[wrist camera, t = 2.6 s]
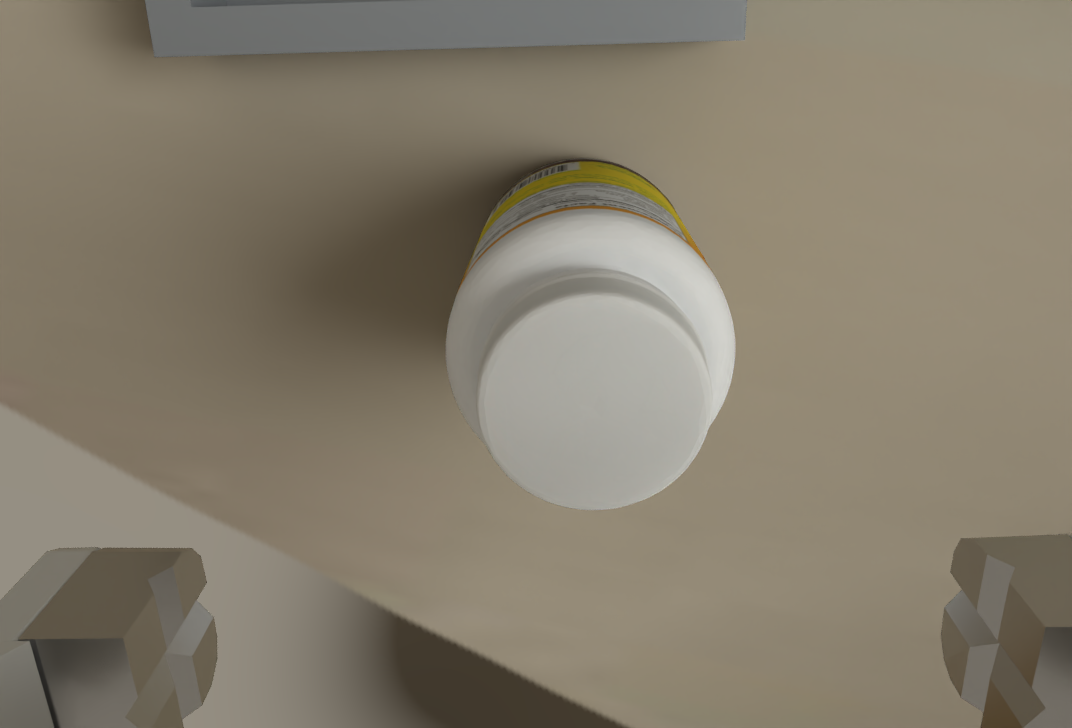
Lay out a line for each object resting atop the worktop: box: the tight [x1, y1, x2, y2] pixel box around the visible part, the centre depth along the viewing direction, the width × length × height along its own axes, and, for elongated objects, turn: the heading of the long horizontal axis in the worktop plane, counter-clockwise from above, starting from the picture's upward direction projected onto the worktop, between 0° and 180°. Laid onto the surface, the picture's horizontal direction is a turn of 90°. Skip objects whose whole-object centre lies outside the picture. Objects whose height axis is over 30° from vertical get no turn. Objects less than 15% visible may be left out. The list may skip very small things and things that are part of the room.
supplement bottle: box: [446, 158, 735, 510], centre depth 20 cm, size 6×6×10 cm
